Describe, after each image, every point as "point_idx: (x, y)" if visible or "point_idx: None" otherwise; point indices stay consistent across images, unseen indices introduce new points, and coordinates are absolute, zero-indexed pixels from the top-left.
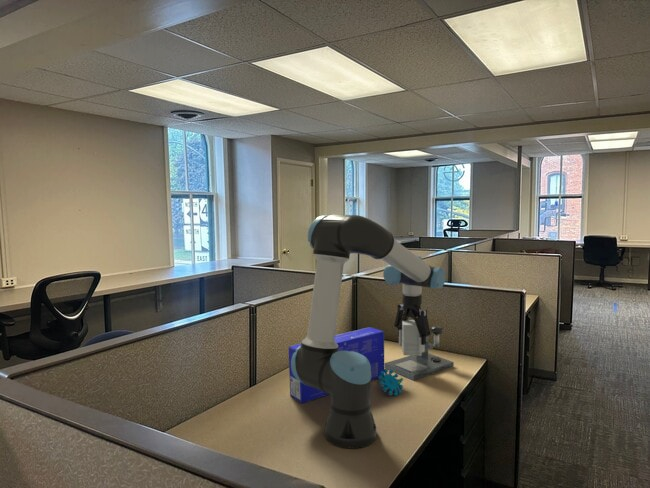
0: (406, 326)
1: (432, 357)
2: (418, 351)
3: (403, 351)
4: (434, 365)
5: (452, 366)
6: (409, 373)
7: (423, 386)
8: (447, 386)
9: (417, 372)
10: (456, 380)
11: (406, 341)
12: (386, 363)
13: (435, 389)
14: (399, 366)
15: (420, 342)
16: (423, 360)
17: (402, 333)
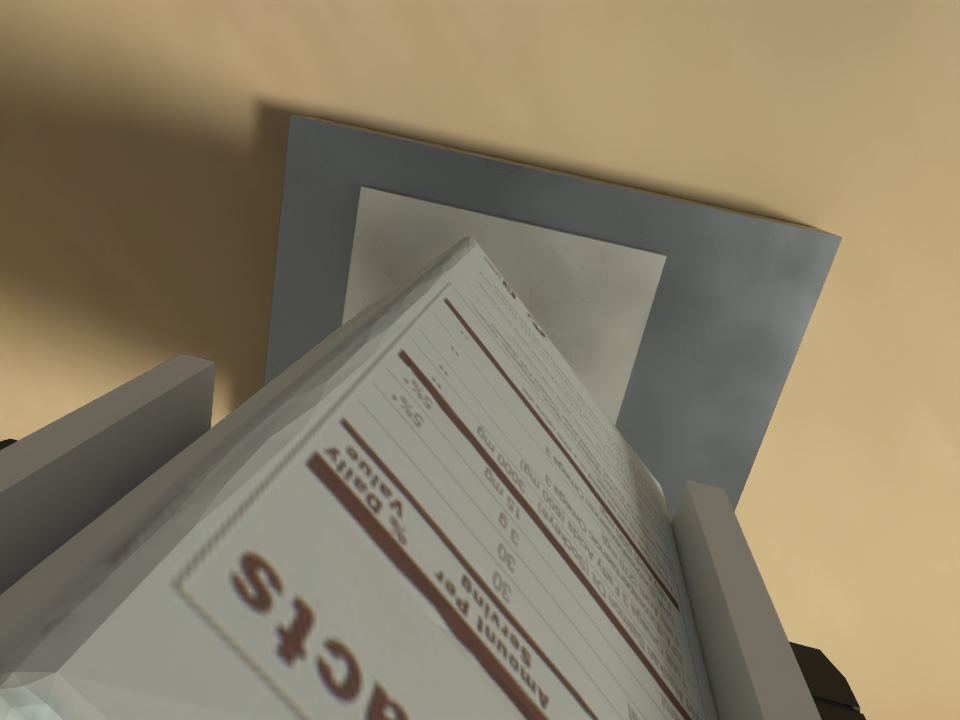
0: None
1: None
2: (200, 367)
3: (465, 249)
4: None
5: None
6: (365, 137)
7: (147, 46)
8: (7, 231)
9: (316, 239)
10: (49, 418)
11: (341, 333)
12: (811, 242)
13: (24, 69)
14: (580, 236)
15: (18, 452)
16: None
17: (595, 607)
